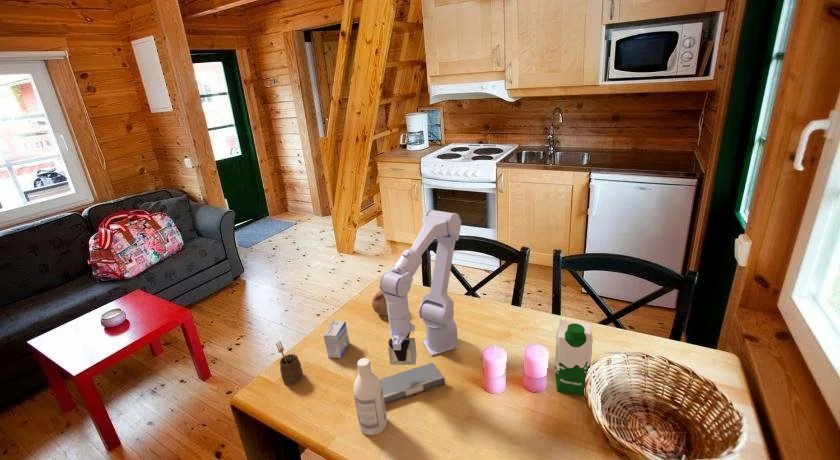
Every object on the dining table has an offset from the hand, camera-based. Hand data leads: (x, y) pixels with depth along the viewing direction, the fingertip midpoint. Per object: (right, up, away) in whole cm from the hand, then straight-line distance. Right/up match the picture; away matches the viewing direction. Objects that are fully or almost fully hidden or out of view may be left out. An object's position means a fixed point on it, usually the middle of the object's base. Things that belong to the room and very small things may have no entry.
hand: (403, 354), depth 113 cm
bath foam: (-7, -15, -10) cm, 19 cm away
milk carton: (+46, -7, -3) cm, 46 cm away
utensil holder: (-33, -10, +8) cm, 35 cm away
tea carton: (0, -2, +1) cm, 2 cm away
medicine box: (-22, -4, +18) cm, 29 cm away
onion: (-8, +4, +36) cm, 37 cm away
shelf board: (+1, -9, +1) cm, 9 cm away
